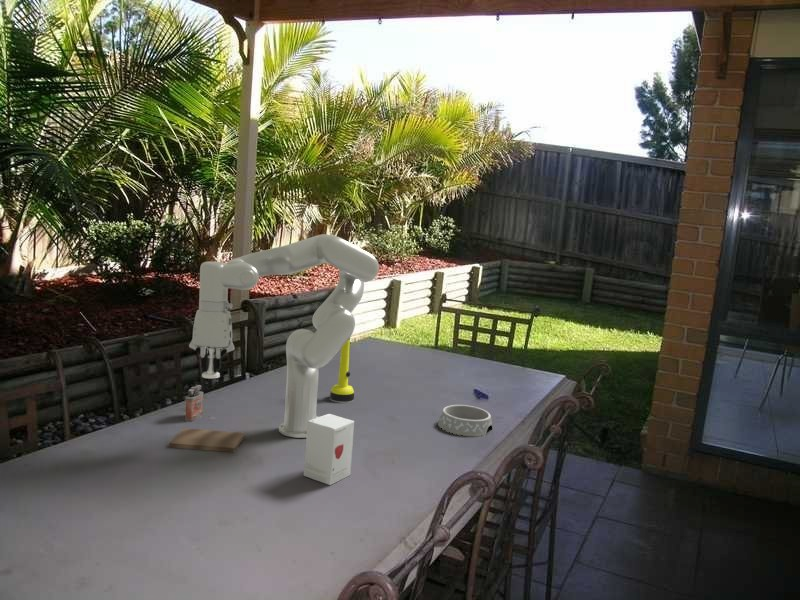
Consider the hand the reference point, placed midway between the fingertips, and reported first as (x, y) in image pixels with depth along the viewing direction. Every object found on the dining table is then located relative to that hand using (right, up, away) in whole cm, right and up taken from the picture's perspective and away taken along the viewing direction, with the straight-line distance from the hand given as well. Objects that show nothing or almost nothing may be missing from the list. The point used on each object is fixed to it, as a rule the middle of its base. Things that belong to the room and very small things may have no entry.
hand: (211, 370), depth 181 cm
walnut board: (-2, -21, +3) cm, 21 cm away
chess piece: (0, -2, 0) cm, 2 cm away
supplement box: (+34, -26, -13) cm, 45 cm away
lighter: (-12, -17, +22) cm, 30 cm away
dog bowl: (+75, -23, +34) cm, 85 cm away
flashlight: (+32, -16, +53) cm, 64 cm away
